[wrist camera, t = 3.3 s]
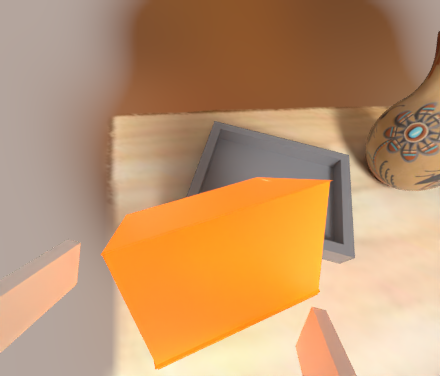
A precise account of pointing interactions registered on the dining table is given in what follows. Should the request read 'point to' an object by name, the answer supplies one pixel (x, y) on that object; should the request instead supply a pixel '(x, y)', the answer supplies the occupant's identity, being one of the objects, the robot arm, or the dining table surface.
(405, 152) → the ceramic vessel
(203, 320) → the orange juice
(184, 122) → the dining table surface
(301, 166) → the tray
